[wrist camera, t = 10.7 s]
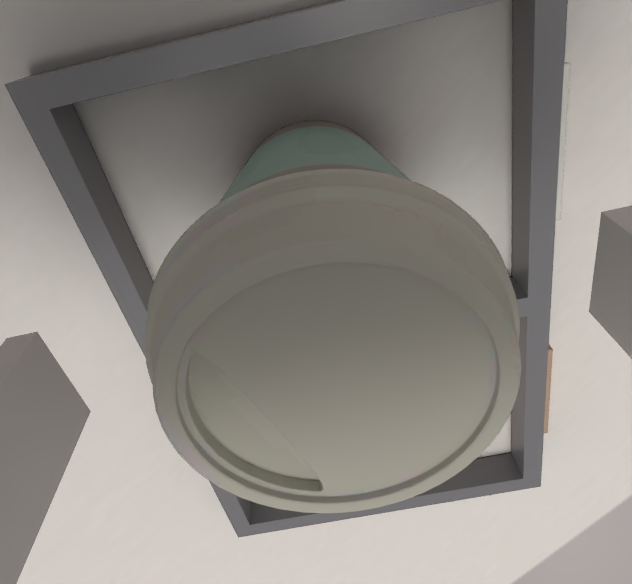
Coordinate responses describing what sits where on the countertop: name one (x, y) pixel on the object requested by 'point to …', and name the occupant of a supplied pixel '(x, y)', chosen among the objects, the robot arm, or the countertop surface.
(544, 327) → the divided tray
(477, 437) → the coffee cup
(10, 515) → the robot arm
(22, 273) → the countertop surface
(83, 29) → the countertop surface
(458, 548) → the countertop surface
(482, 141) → the countertop surface
